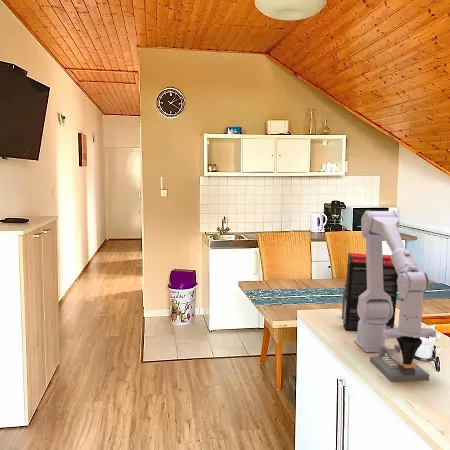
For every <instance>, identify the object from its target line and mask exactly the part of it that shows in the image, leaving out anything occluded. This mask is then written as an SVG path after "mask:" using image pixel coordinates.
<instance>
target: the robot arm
mask: <svg viewBox="0 0 450 450" xmlns="http://www.w3.org/2000/svg"><path fill="white" fill-rule="evenodd" d="M360 222H361V223H360V226H361V229H360V230H361V236H362V237H363V238H365V254H366V269H367V290H366V291H365V292H363V293H362V294H361V295H360V296H359V298H358V305H357V313H358V316H359V317H360V320H359V322H358V330H356V331H357V334H356V339H354V340H353V342H354V343H356V345H358V346H359V347H360V348H361V349H362V350H363V351H364V352H365V353H379V347H380V345H383V346H384V347H385V349H389V348H388V347H387V346H386V345H385V343H386V340H389V339H393V338H394V339H396V341H397V343H398V345H399V346H400V348H401V349H400V353H401V354H402V356H403V361H404V362H405V363H406V364H411V363H412V361H413V360H414V357H415V355H416V353H417V351H418V349H419V348H420V346H422V345H423V340H422V339H421V338H426V337H427V338H429V337H431V338H436V336H437V331H436V330H435V329H434V328H429V327H428V328H427V327H422V320H423V319H422V317H423V306H424V305H423V304H424V293H426V292H427V291H428V289H429V287H430V279H429V276H428V273H427V272H426V270H424V269H422V268H421V267H419V266H418V264H417V262H416V260H415V258H414V256H413V254H412V251H411V250H410V249H408V248H405V245H404V242H403V239H402V237H401V233H400V230H399V227H400V217H399V214H398V213H397V212H396V210H384V211H383V210H365V211H364V212H363V214H362V217H361V221H360ZM384 240H385V242H386V244H387V245H388V248H389V249H390V251H391V252H392V253H391V254H390V255H391V260H392V263H393V265H394V268H395V270H396V272H397V274H398V279H397V286H398V287H397V295H398V297H399V313H398V314H399V315H398V326H397V327H394V328H392V329H387V330H386V323H388V320H389V319H391V318H392V316H393V306H392V302H391V297H390V296H389V295H388V294H387V293H386V292H384V290H383V255H384V254H383V241H384ZM371 299H382V300H371Z"/></svg>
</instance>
